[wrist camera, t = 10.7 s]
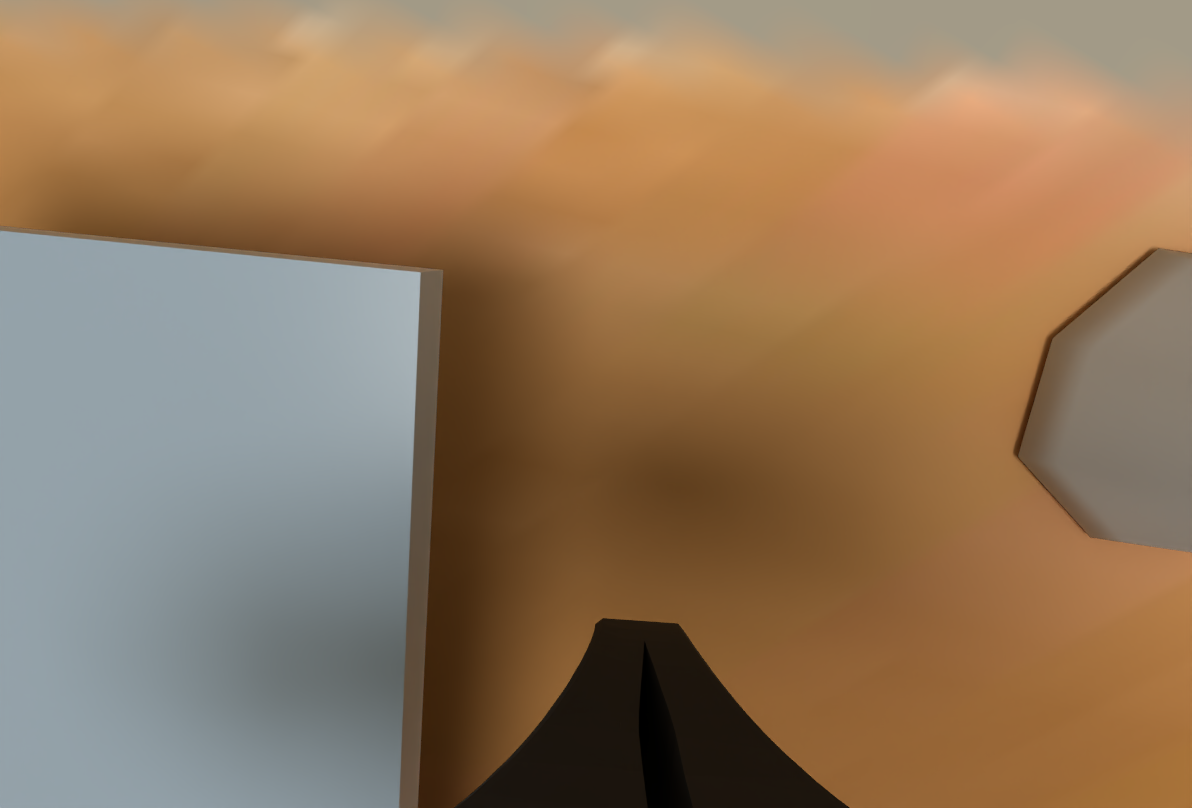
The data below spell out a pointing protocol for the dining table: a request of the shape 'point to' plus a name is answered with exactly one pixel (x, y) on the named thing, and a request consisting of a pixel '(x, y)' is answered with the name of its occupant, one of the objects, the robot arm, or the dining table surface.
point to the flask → (1122, 410)
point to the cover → (212, 524)
